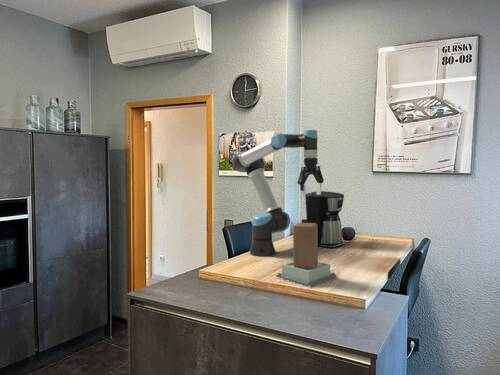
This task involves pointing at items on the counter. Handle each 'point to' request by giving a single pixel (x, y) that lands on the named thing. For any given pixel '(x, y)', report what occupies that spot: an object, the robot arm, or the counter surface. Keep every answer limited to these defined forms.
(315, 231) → the block
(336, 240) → the coffee maker
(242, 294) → the counter surface
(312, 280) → the plate
